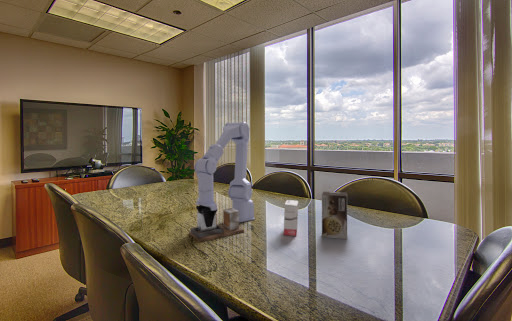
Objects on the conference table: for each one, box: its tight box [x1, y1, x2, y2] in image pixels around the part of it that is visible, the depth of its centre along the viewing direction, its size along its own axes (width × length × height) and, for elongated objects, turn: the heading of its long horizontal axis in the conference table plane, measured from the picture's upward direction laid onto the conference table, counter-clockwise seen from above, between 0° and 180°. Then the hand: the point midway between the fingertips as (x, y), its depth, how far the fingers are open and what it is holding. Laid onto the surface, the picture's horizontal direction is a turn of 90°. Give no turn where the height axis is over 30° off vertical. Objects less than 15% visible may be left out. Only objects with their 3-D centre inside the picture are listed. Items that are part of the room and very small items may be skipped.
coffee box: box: [321, 191, 348, 240], centre depth 101 cm, size 9×6×16 cm
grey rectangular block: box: [196, 211, 218, 233], centre depth 103 cm, size 4×6×7 cm, turn 123°
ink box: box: [283, 199, 299, 237], centre depth 105 cm, size 9×5×12 cm, turn 168°
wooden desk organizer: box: [188, 207, 245, 243], centre depth 105 cm, size 19×11×8 cm, turn 123°
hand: (206, 225), depth 103 cm, fingers closed on grey rectangular block, 4 cm apart
